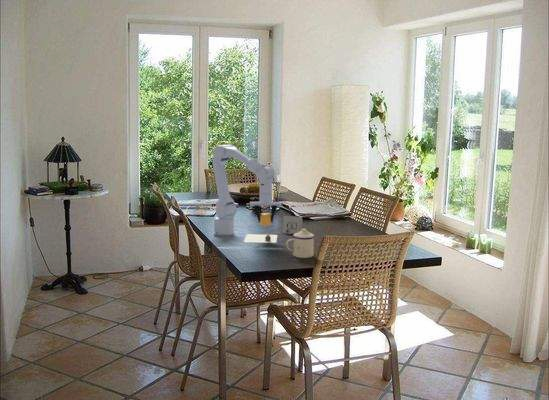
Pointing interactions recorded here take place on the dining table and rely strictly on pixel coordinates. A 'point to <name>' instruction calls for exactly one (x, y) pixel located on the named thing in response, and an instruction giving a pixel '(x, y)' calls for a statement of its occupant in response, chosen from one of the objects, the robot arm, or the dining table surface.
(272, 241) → the cover plate
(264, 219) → the orange cube
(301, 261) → the dining table surface
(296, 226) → the electrical switch
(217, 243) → the dining table surface
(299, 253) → the teacup with lid
